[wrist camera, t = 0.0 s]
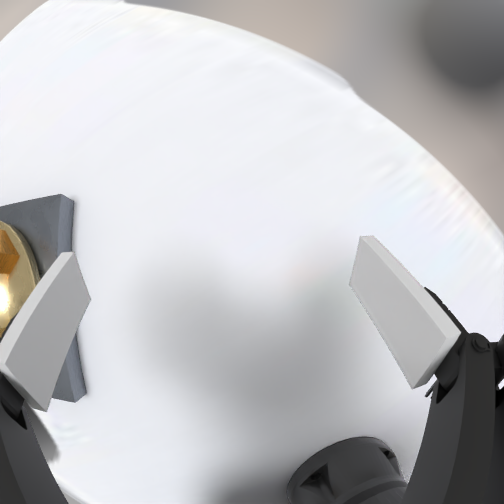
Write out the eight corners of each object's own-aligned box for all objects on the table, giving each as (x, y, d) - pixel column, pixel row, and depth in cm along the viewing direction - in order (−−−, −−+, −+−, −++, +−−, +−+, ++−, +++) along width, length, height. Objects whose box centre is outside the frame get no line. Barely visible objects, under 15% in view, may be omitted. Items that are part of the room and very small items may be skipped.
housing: (86, 393, 24) (74, 403, 21) (-20, 367, 21) (-32, 371, 18) (74, 201, 26) (60, 193, 23) (-28, 221, 24) (-41, 217, 20)
